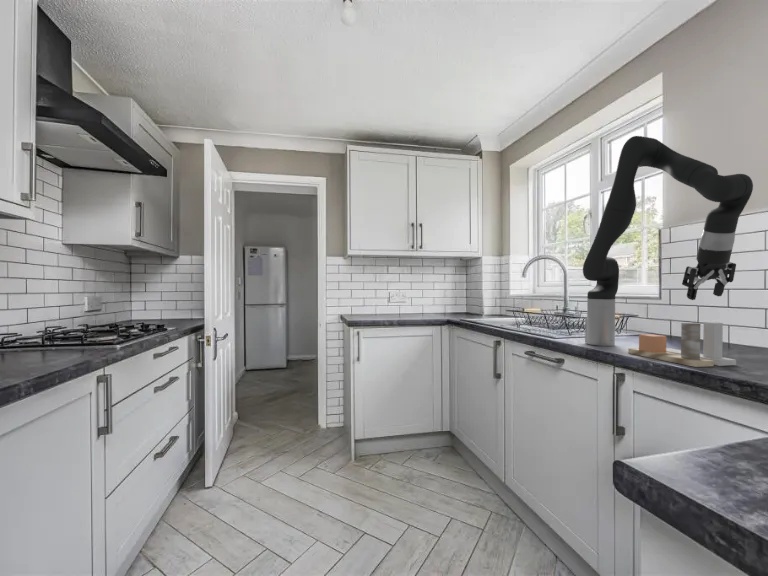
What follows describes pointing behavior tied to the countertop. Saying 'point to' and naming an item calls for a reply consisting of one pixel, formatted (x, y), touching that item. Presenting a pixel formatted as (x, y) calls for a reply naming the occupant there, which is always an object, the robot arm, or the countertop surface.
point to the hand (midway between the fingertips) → (704, 297)
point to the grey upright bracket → (711, 345)
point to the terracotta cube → (652, 343)
